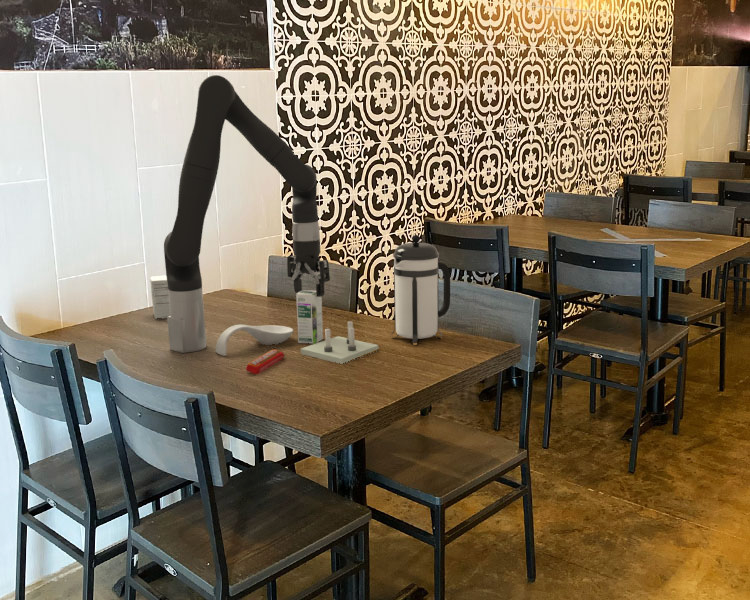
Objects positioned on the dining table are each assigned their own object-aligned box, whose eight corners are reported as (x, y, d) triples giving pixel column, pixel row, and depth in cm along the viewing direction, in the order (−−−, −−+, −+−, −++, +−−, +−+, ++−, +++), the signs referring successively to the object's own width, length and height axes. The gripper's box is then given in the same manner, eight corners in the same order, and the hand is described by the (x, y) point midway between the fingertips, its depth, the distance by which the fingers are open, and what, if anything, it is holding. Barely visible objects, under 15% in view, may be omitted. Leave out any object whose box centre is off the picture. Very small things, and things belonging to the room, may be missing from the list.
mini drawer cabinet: (153, 314, 270) (149, 276, 267) (176, 311, 272) (173, 274, 269) (154, 319, 263) (150, 280, 260) (177, 317, 265) (174, 278, 262)
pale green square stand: (341, 364, 215) (340, 336, 213) (300, 354, 224) (299, 327, 222) (378, 350, 226) (378, 323, 224) (338, 341, 235) (337, 315, 233)
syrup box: (297, 343, 234) (295, 293, 231) (305, 337, 239) (303, 288, 236) (316, 344, 232) (314, 294, 229) (323, 338, 238) (321, 289, 234)
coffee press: (443, 347, 227) (443, 239, 220) (386, 345, 230) (384, 239, 223) (450, 330, 244) (450, 229, 237) (397, 328, 247) (395, 229, 240)
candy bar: (256, 377, 207) (255, 365, 206) (243, 375, 208) (243, 364, 208) (286, 358, 221) (286, 348, 221) (274, 357, 223) (274, 346, 222)
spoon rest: (277, 334, 245) (275, 310, 243) (301, 341, 236) (300, 317, 235) (208, 351, 229) (206, 326, 227) (232, 360, 220) (230, 334, 219)
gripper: (278, 237, 231) (282, 294, 235) (315, 242, 222) (318, 300, 226) (297, 233, 236) (300, 288, 240) (334, 237, 227) (336, 295, 231)
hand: (309, 294), depth 233 cm, fingers open, 8 cm apart
